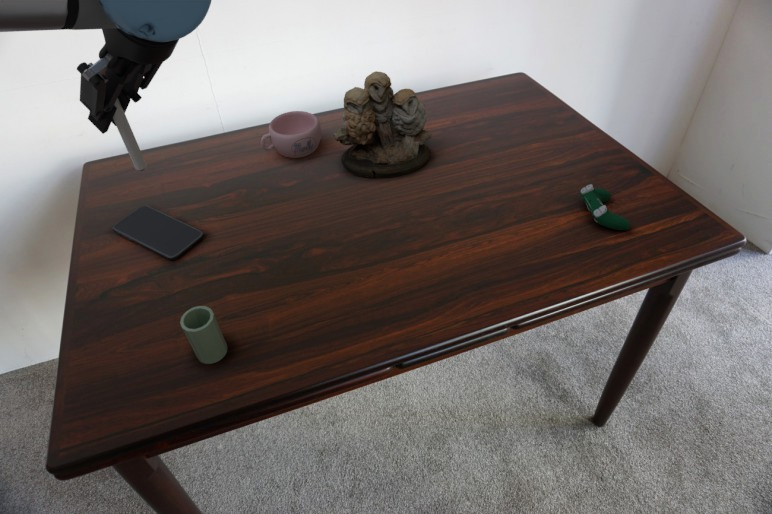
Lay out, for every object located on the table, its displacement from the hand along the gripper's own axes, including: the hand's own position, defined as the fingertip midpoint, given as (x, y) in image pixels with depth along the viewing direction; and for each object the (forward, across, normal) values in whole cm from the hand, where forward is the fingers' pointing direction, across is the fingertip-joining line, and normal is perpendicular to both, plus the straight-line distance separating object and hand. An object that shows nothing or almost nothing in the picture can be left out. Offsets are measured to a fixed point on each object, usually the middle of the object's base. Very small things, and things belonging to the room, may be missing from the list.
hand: (104, 121), depth 73 cm
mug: (+9, +30, -20) cm, 37 cm away
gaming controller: (-31, +35, -60) cm, 77 cm away
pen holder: (-3, -14, -33) cm, 36 cm away
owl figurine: (-3, +34, -32) cm, 47 cm away
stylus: (+2, 0, -8) cm, 8 cm away
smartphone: (+14, 0, -16) cm, 21 cm away
